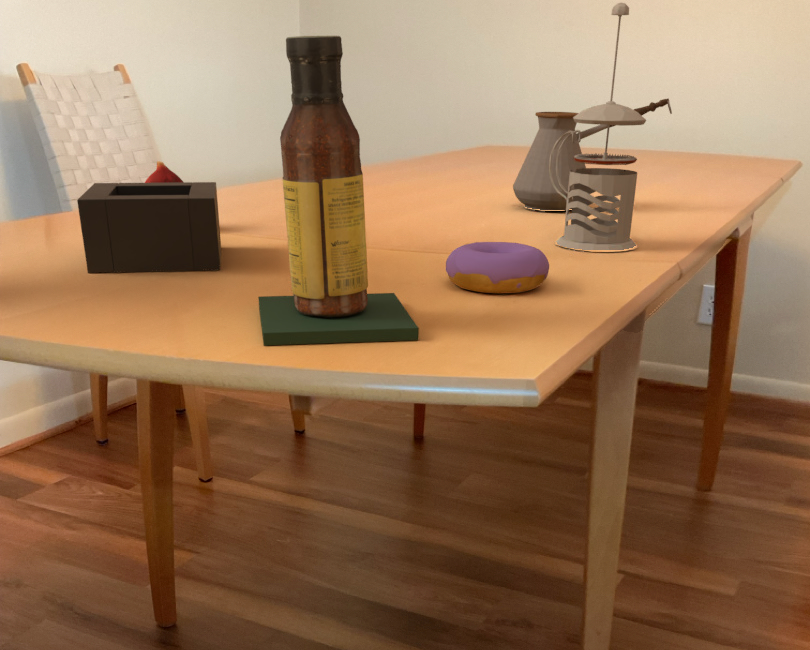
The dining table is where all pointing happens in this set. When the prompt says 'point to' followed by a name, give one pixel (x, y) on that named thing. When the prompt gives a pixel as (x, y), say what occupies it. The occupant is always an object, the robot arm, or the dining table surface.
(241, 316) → the dining table surface
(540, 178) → the coffee pot
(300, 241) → the sauce bottle
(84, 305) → the dining table surface
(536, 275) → the donut
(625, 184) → the french press
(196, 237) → the black open-top box
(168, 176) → the onion
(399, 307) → the mat
